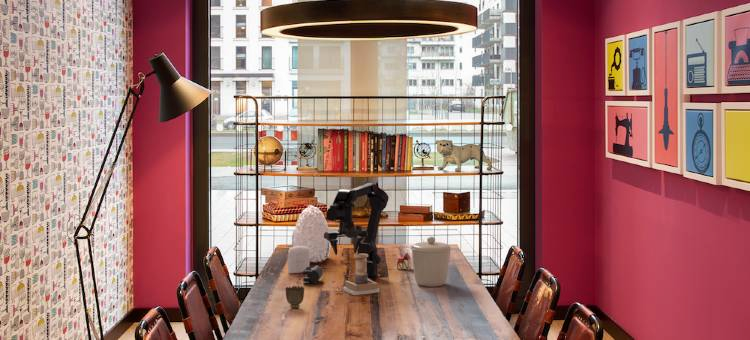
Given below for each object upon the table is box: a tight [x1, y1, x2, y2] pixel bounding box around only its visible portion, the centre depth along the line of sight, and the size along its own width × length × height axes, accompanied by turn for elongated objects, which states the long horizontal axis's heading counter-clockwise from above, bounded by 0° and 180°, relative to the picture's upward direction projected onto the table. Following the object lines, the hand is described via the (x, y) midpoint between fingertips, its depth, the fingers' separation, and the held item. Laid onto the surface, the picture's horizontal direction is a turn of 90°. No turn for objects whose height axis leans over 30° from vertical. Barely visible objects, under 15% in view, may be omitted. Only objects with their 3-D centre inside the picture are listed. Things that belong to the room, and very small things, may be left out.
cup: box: [285, 285, 305, 310], centre depth 336 cm, size 8×7×8 cm
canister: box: [410, 236, 453, 288], centre depth 378 cm, size 18×18×21 cm
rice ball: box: [291, 204, 331, 263], centre depth 432 cm, size 28×19×28 cm
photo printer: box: [287, 246, 310, 274], centre depth 403 cm, size 10×4×12 cm, turn 116°
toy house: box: [396, 251, 411, 271], centre depth 413 cm, size 6×7×8 cm
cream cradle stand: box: [343, 278, 381, 296], centre depth 365 cm, size 12×10×4 cm
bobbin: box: [353, 253, 369, 285], centre depth 365 cm, size 6×6×14 cm
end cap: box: [302, 265, 324, 286], centre depth 382 cm, size 10×7×7 cm
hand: (345, 254), depth 379 cm, fingers open, 9 cm apart
